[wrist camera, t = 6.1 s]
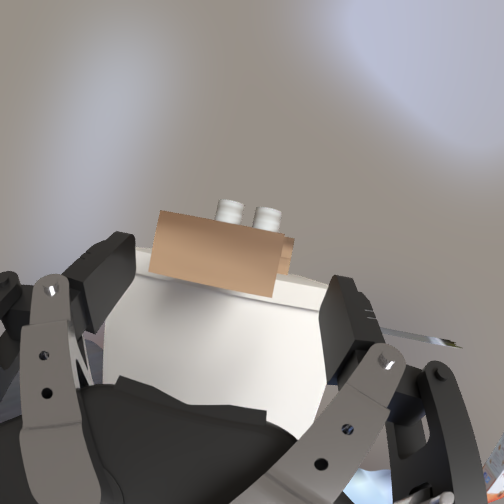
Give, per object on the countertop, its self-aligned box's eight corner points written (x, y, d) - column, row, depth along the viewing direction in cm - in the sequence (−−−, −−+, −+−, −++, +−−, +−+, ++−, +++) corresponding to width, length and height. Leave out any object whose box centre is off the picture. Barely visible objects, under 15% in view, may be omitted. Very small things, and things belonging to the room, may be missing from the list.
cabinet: (264, 539, 18) (358, 294, 19) (110, 506, 18) (107, 243, 19) (258, 441, 42) (299, 275, 43) (157, 420, 42) (180, 251, 43)
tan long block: (385, 316, 8) (404, 110, 9) (57, 247, 8) (118, 63, 9) (278, 271, 42) (288, 220, 43) (201, 255, 42) (212, 205, 43)
